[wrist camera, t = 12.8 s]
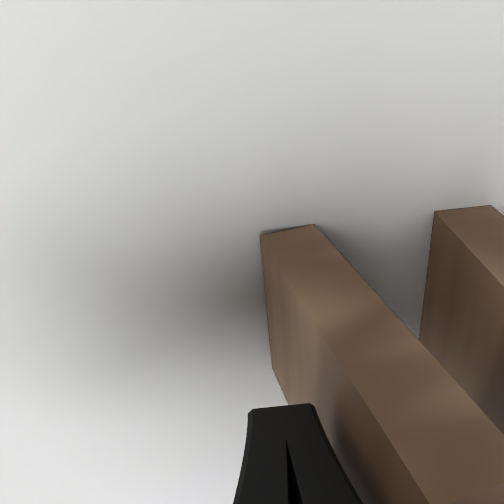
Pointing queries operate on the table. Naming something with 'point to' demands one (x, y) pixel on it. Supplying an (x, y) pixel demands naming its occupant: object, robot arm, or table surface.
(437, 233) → the walnut domino
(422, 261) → the table surface
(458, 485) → the walnut domino
